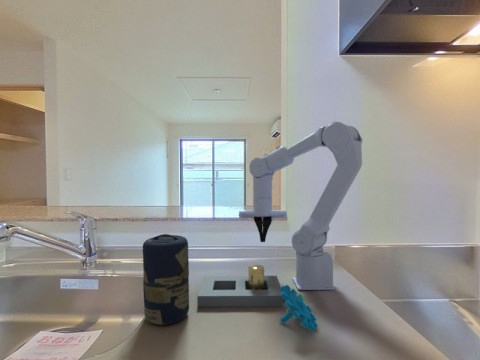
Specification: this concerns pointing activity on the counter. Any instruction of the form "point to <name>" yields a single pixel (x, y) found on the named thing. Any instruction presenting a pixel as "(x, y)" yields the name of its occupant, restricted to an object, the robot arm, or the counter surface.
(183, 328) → the counter surface
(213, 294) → the jig
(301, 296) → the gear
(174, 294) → the canister
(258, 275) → the bushing
